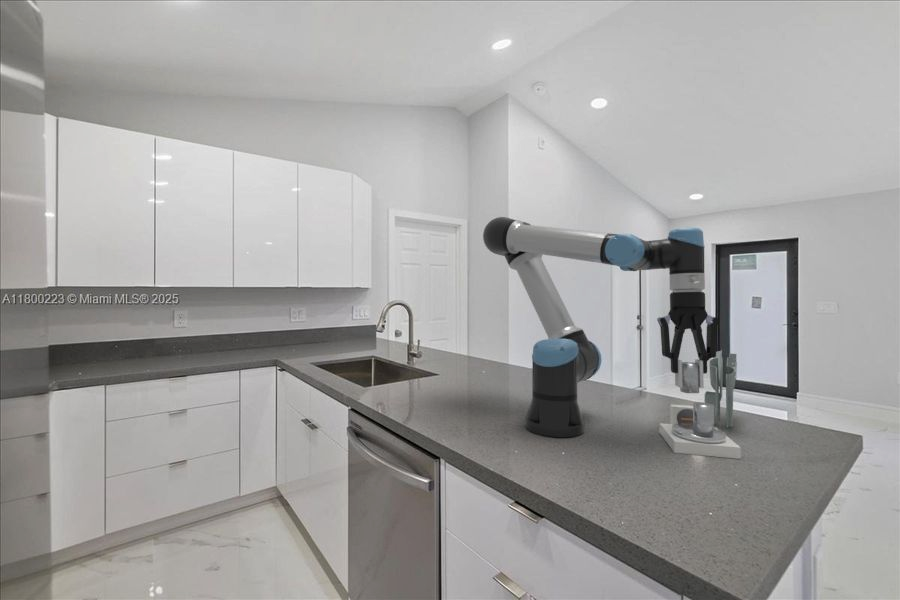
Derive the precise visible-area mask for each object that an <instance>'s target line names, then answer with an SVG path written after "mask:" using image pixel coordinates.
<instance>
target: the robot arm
mask: <svg viewBox="0 0 900 600" xmlns="http://www.w3.org/2000/svg"><path fill="white" fill-rule="evenodd" d="M482 238H483V239H482V240H483V243H484V245H485V247H486V248H487V250H488V251H490V252H491V253H493V254H495V255H499V256H503V257H504V258H505V260H506V263H507V264H508V267H509V268H510V269H511V270H514V271H516V272H517V274H518V277H519V278H520V281H521V283H522V285H523V287H524V289H525V291H526V293H527V296H528V298H529V299H530V301H531V304H532V306H533V308H534V311H535V312H536V315H537V316H538V318H539V321H540V322H541V323H540V324H541V325H542V327H543V330H544V331H545V334H546V335H547V337H548V339H547V338H546V339H542V340H539V341H537V342H535V344H534V345H533V348H532V354H531V359H532V366H531V367H532V368H531V369H532V371H531V372H532V376H531V377H532V378H531V379H532V381H531V382H532V384H531V386H532V393H531V394H532V398H531V400H530V404H529V406H528V409H527V413H526V415H525V428H526V429H527V430H528V431H530V432H531V433H534V434H537V435H541V436H545V437H552V438H573V437H577V436H580V435H583V433H584V432H585V422H584V418H583V415H582V413H581V409H580V406H579V403H578V383H580V382H584V381H587V380H589V379H591V378H592V377H593V376H595V375H596V374H597V373H598V372H599V370H600V368H601V365H602V354H601V351H600V348H598V346H597V345H596V344H595V343H594V342H593V341H591V340H589V339H588V338H587V335H586V333H585V331H584V330H583V328H581V327H578V326H576V325H575V323H574V321H573V318H572V316H571V315H570V313H569V311H568V309H567V307H566V305H565V303H564V301H563V299H562V297H561V295H560V293H559V291H558V289H557V287H556V285H555V283H554V281H553V279H552V277H551V275H550V273H549V271H548V269H547V267H546V265H545V263H544V261H543V259H542V258H543V255H544V256H551V257H557V258H565V259H571V260H575V261H576V260H578V261H584V262H585V261H586V262H590V263H598V264H599V263H600V264H602V265H603V264H604V265H611V266H616V267H619V269H620V270H622V271H624V272H627V271H628V272H638V271H650V270H652V271H653V270H658V269H659V270H661V269H662V270H664V269H665V270H666V269H668V270H669V273H668V274H669V291H672V292H670V294H669V311H668V314H667V315H665V316H662V317H660V316H659V317H658V318H657V319H656V320H657V323H658V325H659V327H660V341H661V342H660V343H661V355H662V356H663V357H665V358H667V359H669V360H670V371H671V373H672V374H674V377H675V378H674V382H675V383H674V386H676V387H678V388H680V387H683V383H682V362H683V360H682V359H679V358H680V357H679V356H680V352H681V348H682V347H681V346H682V342H683V338H684V333H686V330H688V329H689V330H690V331H691V333H692V337H693V341H694V345H695V349H696V354H697V356H698V359H694V363H698V367H699V389H700V388H701V389H704V387H705V385H704V384H705V383H704V374H707V373H708V361H710V360H711V359H713V358H715V357H716V352H717V328H718V325H719V322H720V317H717V316H712V315H710V314H708V312H707V311H706V310H707V309H706V293H705V292H704V291H703V290H705V288H706V284H705V283H706V280H705V276H706V275H705V243H704V242H705V241H704V231H703V230H702V229H701V228H699V227H680V228H679V227H678V228H674V229H672V230H670V231H669V232H668V235H667V238H664V239H657V240H644V239H642V238H640V237H638V236H635V235H634V234H632V233H631V234H630V233H619V234H618V233H610V232H600V231H591V230H590V231H588V230H580V229H569V228H561V227H552V226H541V225H534V224H533V225H532V224H530V223H529V222H527V221H522V220H519V219H518V220H517V219H514V218H510V217H505V216H498V217H495V218H492V219H491V220H490V221H489V222H488V223H487V224H486V225H485V227H484V230H483V235H482ZM670 321H671V322H672V323H673V325H674V330H673V331H674V332H673V333H674V334H673V338H672V343H671V340H670V326H669V325H670V324H671V323H670ZM704 321H705V324H706V344H705V340H704V337H703V329H702V325H703V323H704Z"/></svg>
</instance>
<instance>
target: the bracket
mask: <svg viewBox="0 0 900 600" xmlns="http://www.w3.org/2000/svg"><path fill="white" fill-rule="evenodd" d="M722 353H723V349H721V350H718V351H716V357H715V358H710V359H709V360H708V361H709V366H708V367H709V378H710V379H709V380H710V386H711V388H712V389H713V390H714V391H707V390H706V391H705V392H704V403H709V404H712V405H714V425H716V426H719V422H720V421H721V401H722V398H723V383H724V382H723V381H724V380H723V376H724V373H723V372H724V371H723V370H724V369H723V367H724V366H723V365H724V361H723V356H722V355H723V354H722ZM737 363H738V362H737V353H728V357H727V358H726V374H725V404H726V406H725V408H726V410H725V412H726V413H725V416H726V421H725V422H726V425H725V426H726V429H729V427H730V428H733V426H734V425H733V424H734V390H735V389H734V388H735V387H736V381H737V367H738V364H737Z"/></svg>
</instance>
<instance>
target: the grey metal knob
mask: <svg viewBox="0 0 900 600" xmlns="http://www.w3.org/2000/svg"><path fill="white" fill-rule="evenodd" d="M692 406H693V434H694V435H696V436H699V437H703V438H713V437H714V428H715V426H714V425H715V424H714V405H712V404H709V403H705V402H703V401H702V402H700V401H697V402H696V401H695V402H693V404H692Z"/></svg>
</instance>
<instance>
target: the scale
mask: <svg viewBox="0 0 900 600" xmlns="http://www.w3.org/2000/svg"><path fill="white" fill-rule="evenodd" d="M680 423H689V424H693V405H687V404H686V405H682V404H672V403H671V404H669V423H663V422H662V423H661V422H660V423H659V434H660V435H661V437H662V438H663V439H664V441H665V442H666V444H667V445H668V446H669V447H670V449H671V450H672V451H673V453H675V454H683V455H684V454H685V455H695V456H706V457H716V458H727V459H735V460H736V459H737V460H741V458H742V454H741V453H742V448H741V447H740V445H738V444H737V443H736V442H735V441H733V440H732V439H731V438H729V437H728V436H727V435H726V441H725V442H722V443H704V442H697V441H692V440H688V439H684V438H681V437H679V436H677V435H675V434H673V433H672V425H674V424H680ZM715 428H716V429H718V427H715Z"/></svg>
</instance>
